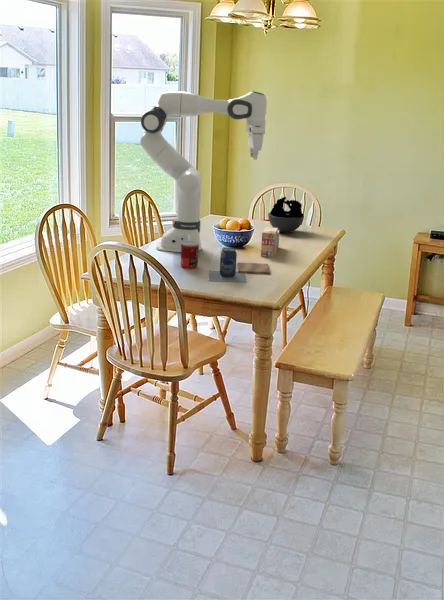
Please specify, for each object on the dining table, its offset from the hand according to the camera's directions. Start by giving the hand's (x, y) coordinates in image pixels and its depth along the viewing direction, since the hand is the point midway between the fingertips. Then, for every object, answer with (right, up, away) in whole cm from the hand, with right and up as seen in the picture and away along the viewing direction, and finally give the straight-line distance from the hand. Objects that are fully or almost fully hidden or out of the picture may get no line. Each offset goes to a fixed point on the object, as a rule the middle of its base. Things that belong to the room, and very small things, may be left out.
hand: (253, 158), depth 321 cm
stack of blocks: (+9, -43, +18) cm, 48 cm away
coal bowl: (+20, -29, +62) cm, 71 cm away
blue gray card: (-13, -57, -26) cm, 64 cm away
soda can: (-13, -57, -26) cm, 64 cm away
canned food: (-30, -52, -14) cm, 62 cm away
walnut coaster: (-1, -53, -13) cm, 55 cm away
